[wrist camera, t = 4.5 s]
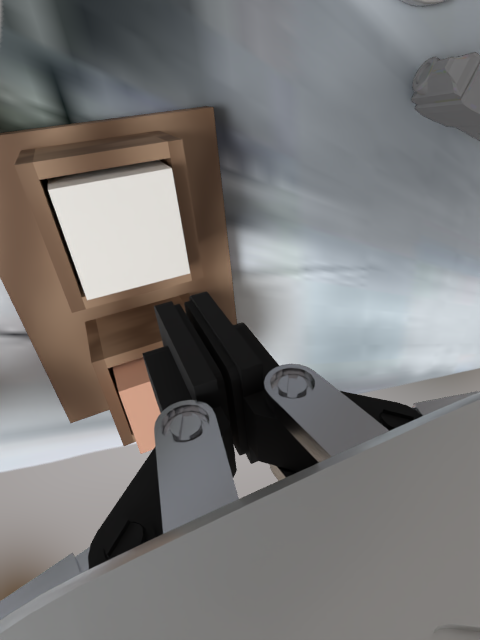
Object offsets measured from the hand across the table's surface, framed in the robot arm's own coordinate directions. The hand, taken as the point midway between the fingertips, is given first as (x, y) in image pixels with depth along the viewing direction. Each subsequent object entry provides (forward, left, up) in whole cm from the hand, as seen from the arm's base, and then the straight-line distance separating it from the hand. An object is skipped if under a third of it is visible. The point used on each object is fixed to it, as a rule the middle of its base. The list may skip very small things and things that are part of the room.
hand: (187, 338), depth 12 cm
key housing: (0, +6, -19) cm, 20 cm away
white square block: (0, 0, -16) cm, 16 cm away
